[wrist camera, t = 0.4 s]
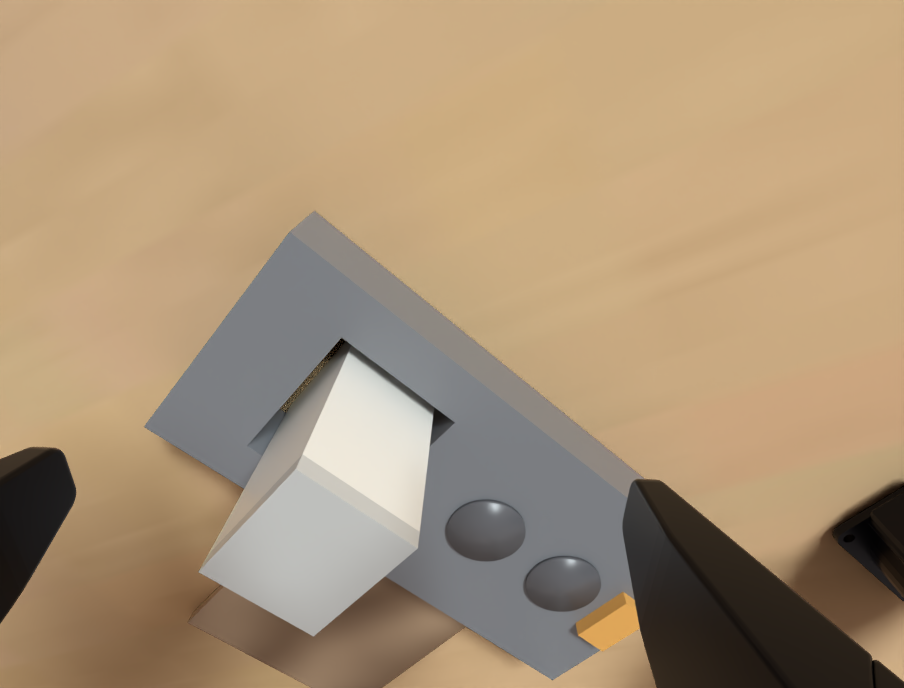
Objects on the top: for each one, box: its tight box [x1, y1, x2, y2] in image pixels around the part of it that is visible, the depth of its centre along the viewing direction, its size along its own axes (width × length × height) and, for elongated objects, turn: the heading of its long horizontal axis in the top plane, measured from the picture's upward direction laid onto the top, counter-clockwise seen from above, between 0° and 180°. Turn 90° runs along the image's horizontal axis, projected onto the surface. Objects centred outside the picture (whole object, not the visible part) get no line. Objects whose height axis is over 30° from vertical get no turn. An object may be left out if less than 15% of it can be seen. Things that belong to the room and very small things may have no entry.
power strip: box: [144, 211, 644, 680], centre depth 23 cm, size 22×10×4 cm, turn 49°
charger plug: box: [199, 341, 434, 636], centre depth 19 cm, size 4×5×9 cm
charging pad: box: [188, 577, 466, 688], centre depth 29 cm, size 11×11×1 cm
